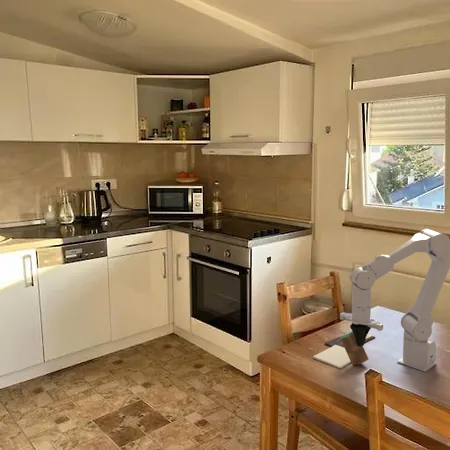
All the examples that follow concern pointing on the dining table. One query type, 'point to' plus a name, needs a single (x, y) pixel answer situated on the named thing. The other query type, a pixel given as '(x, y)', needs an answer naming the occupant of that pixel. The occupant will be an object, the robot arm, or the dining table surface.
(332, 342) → the chocolate bar
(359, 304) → the robot arm
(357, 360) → the walnut block
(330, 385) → the dining table surface
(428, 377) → the dining table surface
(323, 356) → the thin cream panel
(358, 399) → the dining table surface
